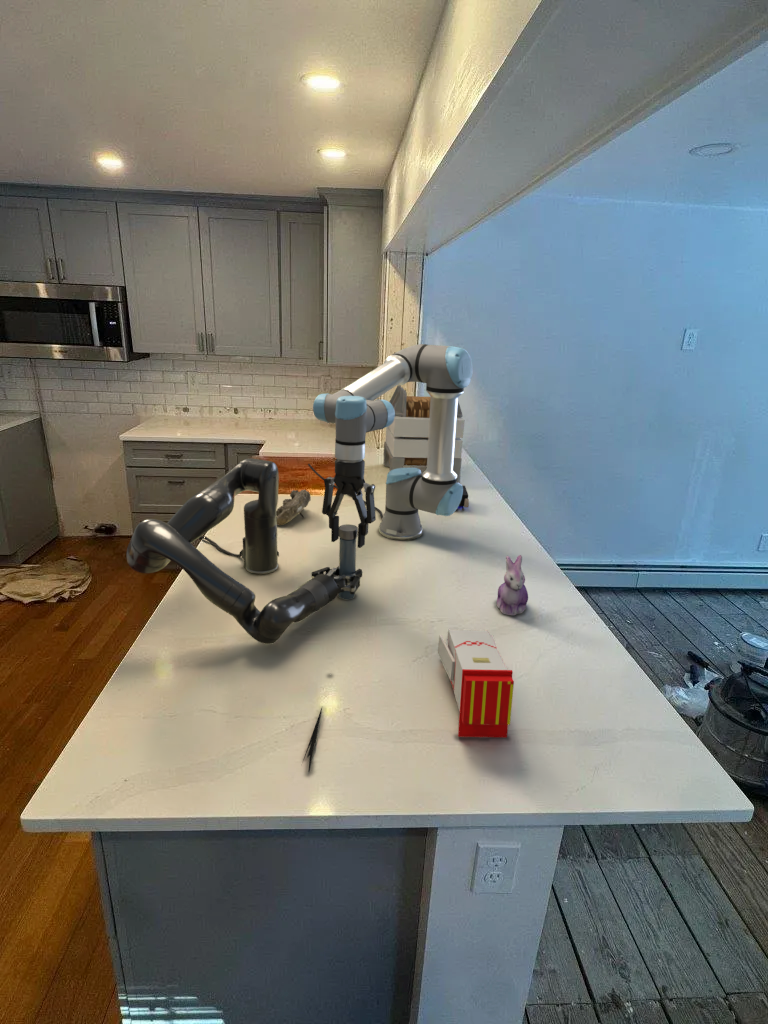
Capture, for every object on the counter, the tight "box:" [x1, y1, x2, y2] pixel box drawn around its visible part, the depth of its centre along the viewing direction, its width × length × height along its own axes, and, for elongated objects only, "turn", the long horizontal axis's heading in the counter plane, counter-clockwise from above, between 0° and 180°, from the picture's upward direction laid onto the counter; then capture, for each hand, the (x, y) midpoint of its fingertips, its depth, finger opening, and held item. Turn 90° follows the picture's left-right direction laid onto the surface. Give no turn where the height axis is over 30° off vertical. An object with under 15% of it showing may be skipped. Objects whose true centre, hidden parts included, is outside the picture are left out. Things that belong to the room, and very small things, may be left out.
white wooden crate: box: [383, 385, 465, 483], centre depth 268 cm, size 34×33×41 cm
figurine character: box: [455, 484, 470, 512], centre depth 229 cm, size 7×8×15 cm
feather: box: [301, 673, 332, 771], centre depth 108 cm, size 2×28×2 cm
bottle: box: [338, 537, 358, 601], centre depth 152 cm, size 4×4×19 cm
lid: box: [339, 523, 358, 540], centre depth 149 cm, size 5×5×2 cm
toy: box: [437, 628, 515, 738], centre depth 117 cm, size 12×13×30 cm
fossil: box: [277, 489, 311, 526], centre depth 209 cm, size 22×10×15 cm
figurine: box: [496, 554, 529, 616], centre depth 150 cm, size 9×10×15 cm
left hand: (352, 569), depth 156 cm, fingers closed on bottle, 4 cm apart
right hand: (347, 542), depth 150 cm, fingers open, 7 cm apart
